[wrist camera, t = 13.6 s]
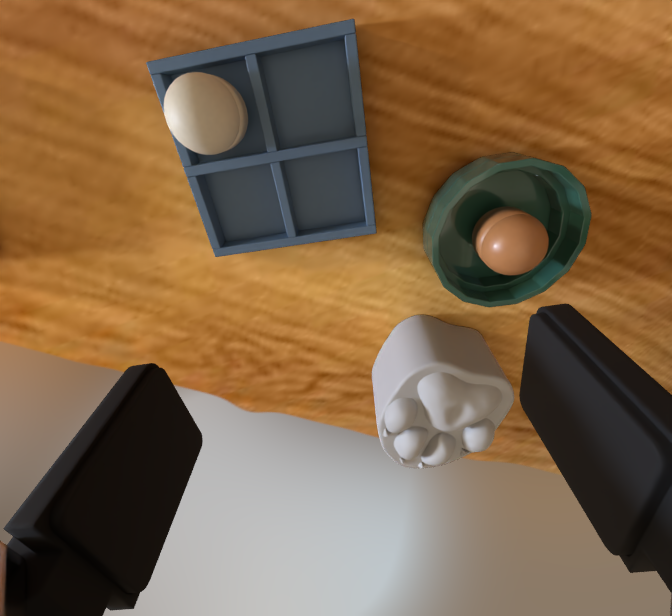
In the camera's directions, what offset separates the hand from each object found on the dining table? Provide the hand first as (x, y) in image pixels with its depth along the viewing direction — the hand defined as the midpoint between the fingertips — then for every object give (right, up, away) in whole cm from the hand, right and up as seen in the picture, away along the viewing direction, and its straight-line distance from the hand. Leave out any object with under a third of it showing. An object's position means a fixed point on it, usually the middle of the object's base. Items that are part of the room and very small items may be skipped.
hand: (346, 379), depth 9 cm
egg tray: (-5, +14, +17) cm, 22 cm away
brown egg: (+12, +8, +19) cm, 24 cm away
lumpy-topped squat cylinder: (+9, -5, +28) cm, 29 cm away
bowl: (+12, +9, +20) cm, 25 cm away
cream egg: (-8, +16, +15) cm, 24 cm away
